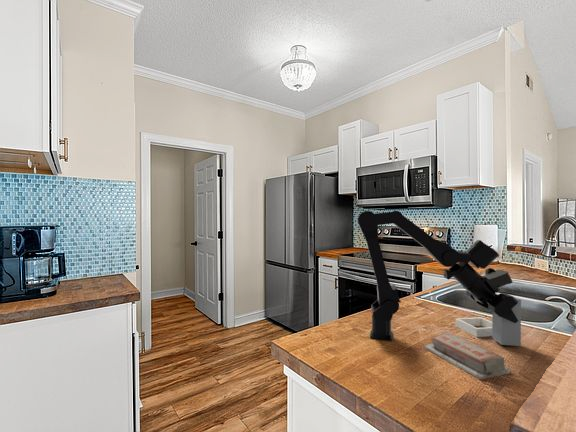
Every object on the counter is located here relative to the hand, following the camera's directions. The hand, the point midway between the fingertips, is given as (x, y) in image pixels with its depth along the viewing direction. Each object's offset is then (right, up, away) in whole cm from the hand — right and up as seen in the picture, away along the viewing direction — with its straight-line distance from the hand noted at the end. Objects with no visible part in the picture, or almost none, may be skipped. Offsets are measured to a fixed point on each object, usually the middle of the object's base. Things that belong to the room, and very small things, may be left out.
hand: (511, 318), depth 88 cm
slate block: (-1, -7, 0) cm, 7 cm away
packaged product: (-19, -8, -9) cm, 22 cm away
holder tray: (-3, -7, +11) cm, 13 cm away
